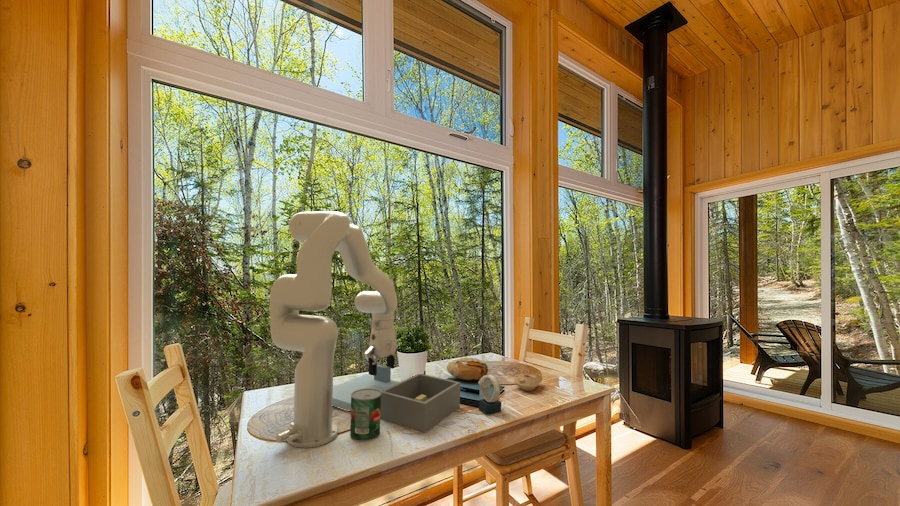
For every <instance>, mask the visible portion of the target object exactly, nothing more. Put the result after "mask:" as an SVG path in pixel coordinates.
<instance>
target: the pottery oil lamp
mask: <svg viewBox="0 0 900 506" xmlns="http://www.w3.org/2000/svg"><path fill="white" fill-rule="evenodd" d="M542 381H543V376H542V375H541V374H537V373H536V374H535V373H530V374H520V375H518V376H517V377H516V378H515V379H514V381H513V382H514V384H516V386H517V387H519V388H520V389H522V390H523V391H526V392H533V391H534V390H535V389H536V388H537V387H538V386H540V383H541V382H542Z"/></svg>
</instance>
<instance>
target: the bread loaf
mask: <svg viewBox="0 0 900 506" xmlns="http://www.w3.org/2000/svg"><path fill="white" fill-rule="evenodd" d="M488 366H489V365H487V363H486V362H484V361H483V360H481V359H479V358H476V357H461V358H458V359H455V360H453V361H450V362H448V364H447V365H446V370H447V372H448V373H449V374H450V375H451V376H454V377H456V378H458V380H460V379H463V380H462V381H464V380H465V381H473V379H474V381H479V380H480V379H481V378H482V377H483V376H485V375H489V374H488V372H489V373H490V374H492V372H491V370H492V369H491V368H490V369H489V368H488Z"/></svg>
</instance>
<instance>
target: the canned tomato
mask: <svg viewBox="0 0 900 506" xmlns="http://www.w3.org/2000/svg"><path fill="white" fill-rule="evenodd" d="M380 413H381V392H380V391H379V390H377V389H369V388H368V389H360V390H356V391H354V392H353V393H352V394H351V412H350V428H349V429H350V431H349V432H350V433H349V436H350V437H349V438H350V439H351V440H353V441H354V442H357V443H358V442H359V443H366V442H372V441H373V440H376V439H378V438H379V437H380V435H381V420H380V415H381V414H380Z"/></svg>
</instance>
